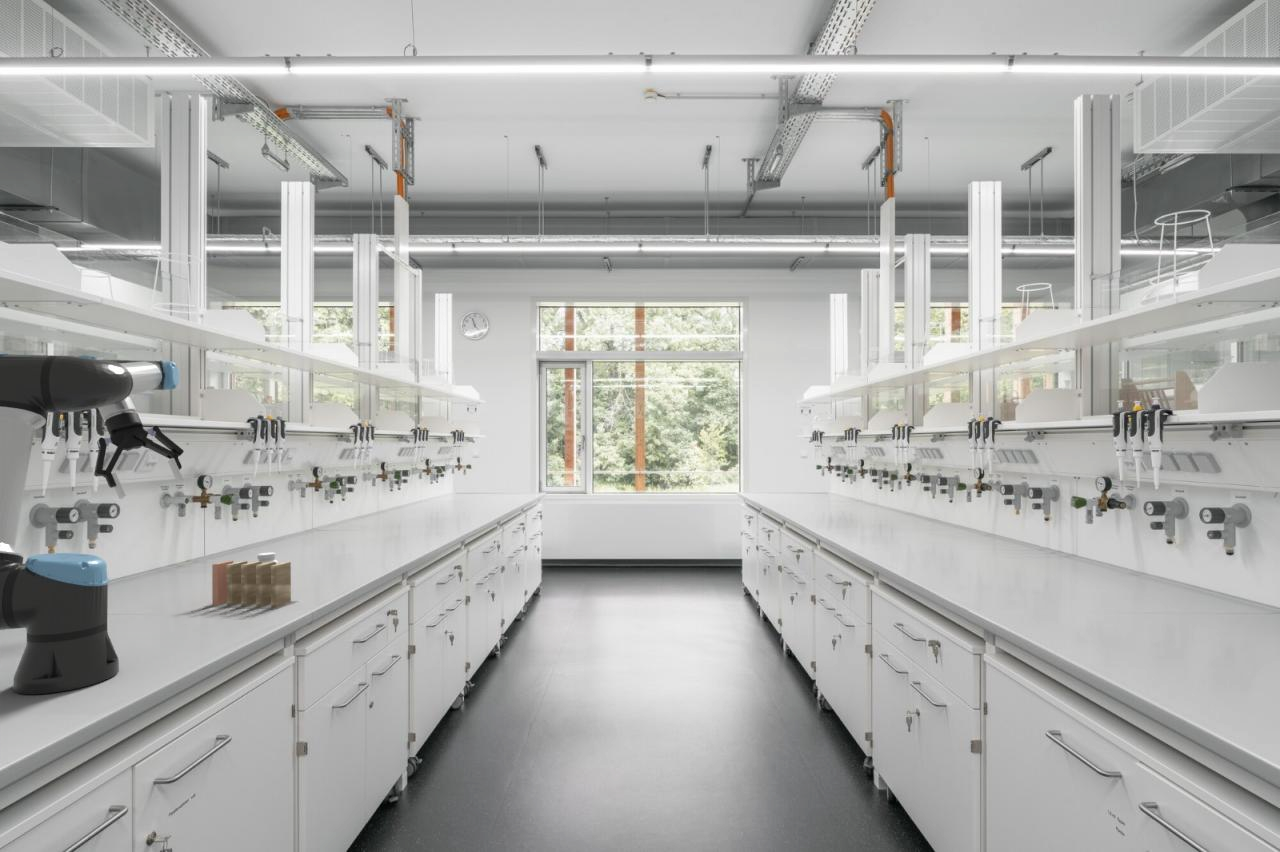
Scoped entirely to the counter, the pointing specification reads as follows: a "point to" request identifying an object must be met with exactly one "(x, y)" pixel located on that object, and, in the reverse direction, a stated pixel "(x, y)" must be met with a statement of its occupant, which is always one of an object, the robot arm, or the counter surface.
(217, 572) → the domino
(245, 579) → the domino
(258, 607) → the mat
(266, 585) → the domino
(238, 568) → the domino
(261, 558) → the pill bottle
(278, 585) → the domino
